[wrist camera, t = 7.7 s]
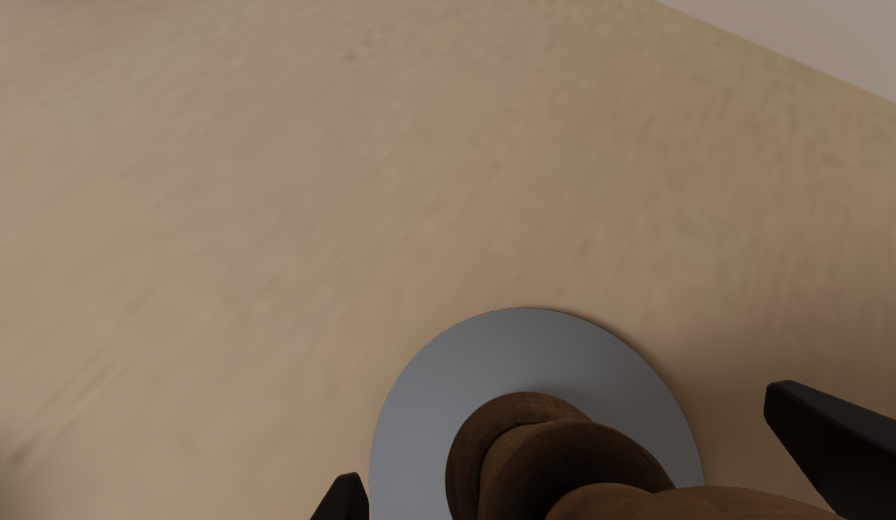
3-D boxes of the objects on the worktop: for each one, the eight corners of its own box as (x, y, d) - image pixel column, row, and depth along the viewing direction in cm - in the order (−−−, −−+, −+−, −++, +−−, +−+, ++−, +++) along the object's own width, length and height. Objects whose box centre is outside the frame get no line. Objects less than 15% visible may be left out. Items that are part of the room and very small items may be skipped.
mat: (756, 449, 18) (770, 450, 18) (568, 770, 15) (574, 792, 14) (502, 260, 23) (502, 253, 22) (311, 482, 19) (302, 485, 18)
